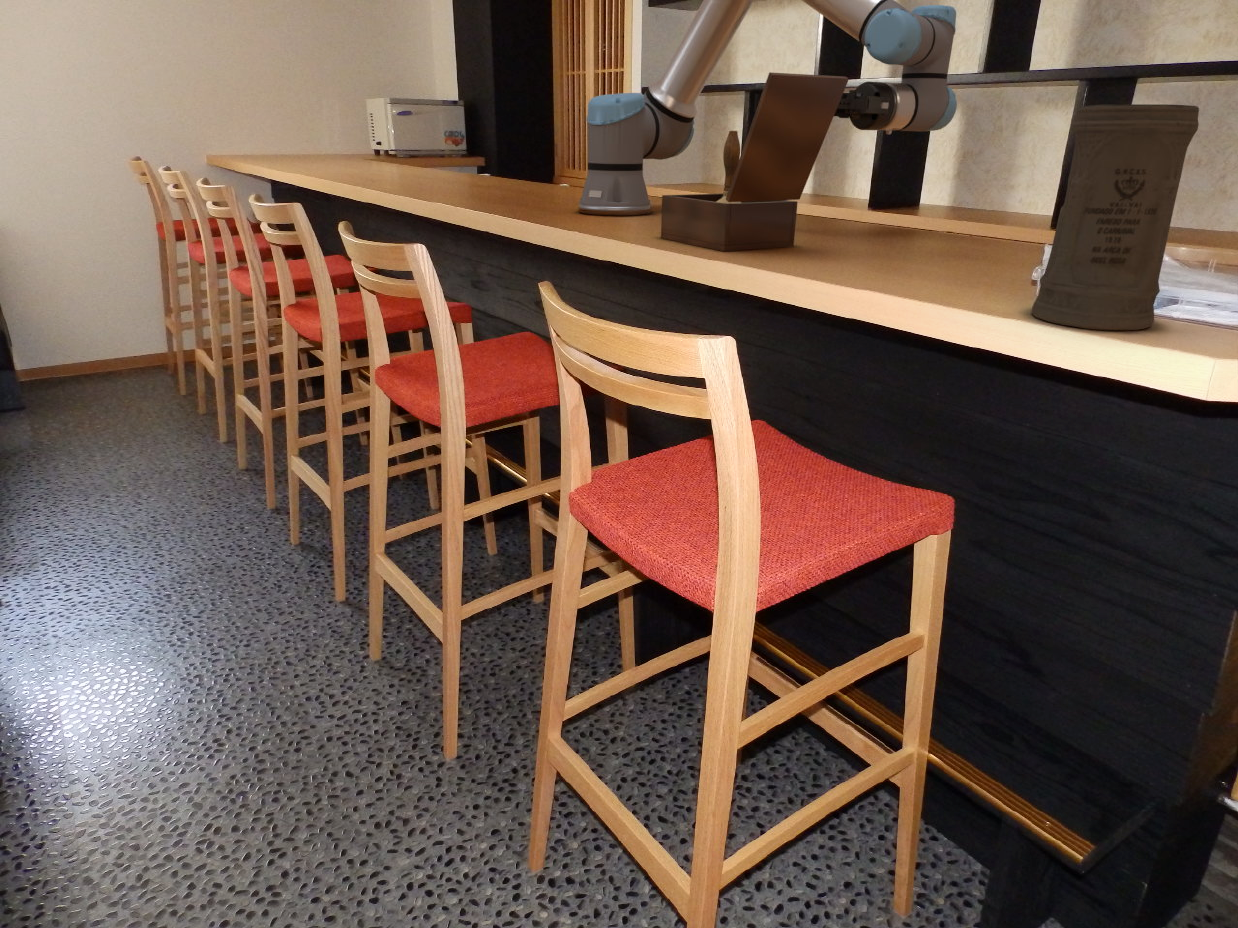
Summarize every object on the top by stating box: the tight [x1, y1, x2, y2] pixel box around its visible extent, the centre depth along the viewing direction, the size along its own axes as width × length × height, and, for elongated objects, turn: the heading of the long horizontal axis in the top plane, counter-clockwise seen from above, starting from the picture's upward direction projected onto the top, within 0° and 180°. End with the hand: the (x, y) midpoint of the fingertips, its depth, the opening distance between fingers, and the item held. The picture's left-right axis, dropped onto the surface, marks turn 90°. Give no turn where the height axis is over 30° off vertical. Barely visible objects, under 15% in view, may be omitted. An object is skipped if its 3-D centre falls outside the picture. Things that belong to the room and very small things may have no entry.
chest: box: [660, 193, 798, 252], centre depth 134 cm, size 18×14×7 cm
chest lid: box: [726, 72, 850, 202], centre depth 120 cm, size 18×14×1 cm
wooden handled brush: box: [716, 130, 741, 204], centre depth 132 cm, size 8×8×16 cm
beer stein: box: [1030, 103, 1200, 331], centre depth 82 cm, size 15×11×20 cm
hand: (782, 103), depth 132 cm, fingers open, 13 cm apart
